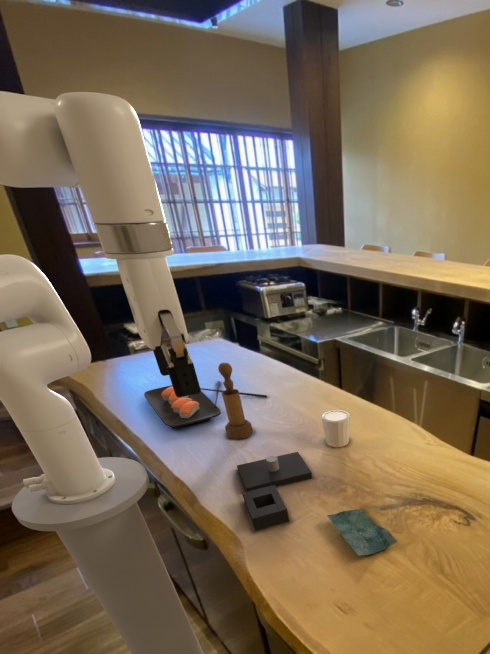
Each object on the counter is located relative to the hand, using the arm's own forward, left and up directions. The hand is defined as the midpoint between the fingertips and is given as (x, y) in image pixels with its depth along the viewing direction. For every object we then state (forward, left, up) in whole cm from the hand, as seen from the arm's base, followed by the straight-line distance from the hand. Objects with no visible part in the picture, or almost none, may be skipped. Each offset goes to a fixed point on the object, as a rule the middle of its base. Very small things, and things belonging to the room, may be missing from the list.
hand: (180, 383), depth 60 cm
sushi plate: (+6, +63, -29) cm, 70 cm away
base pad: (+13, +16, -28) cm, 35 cm away
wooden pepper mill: (+10, +39, -29) cm, 49 cm away
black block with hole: (+8, +3, -28) cm, 30 cm away
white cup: (+31, +24, -29) cm, 49 cm away
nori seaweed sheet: (+22, -11, -29) cm, 38 cm away
